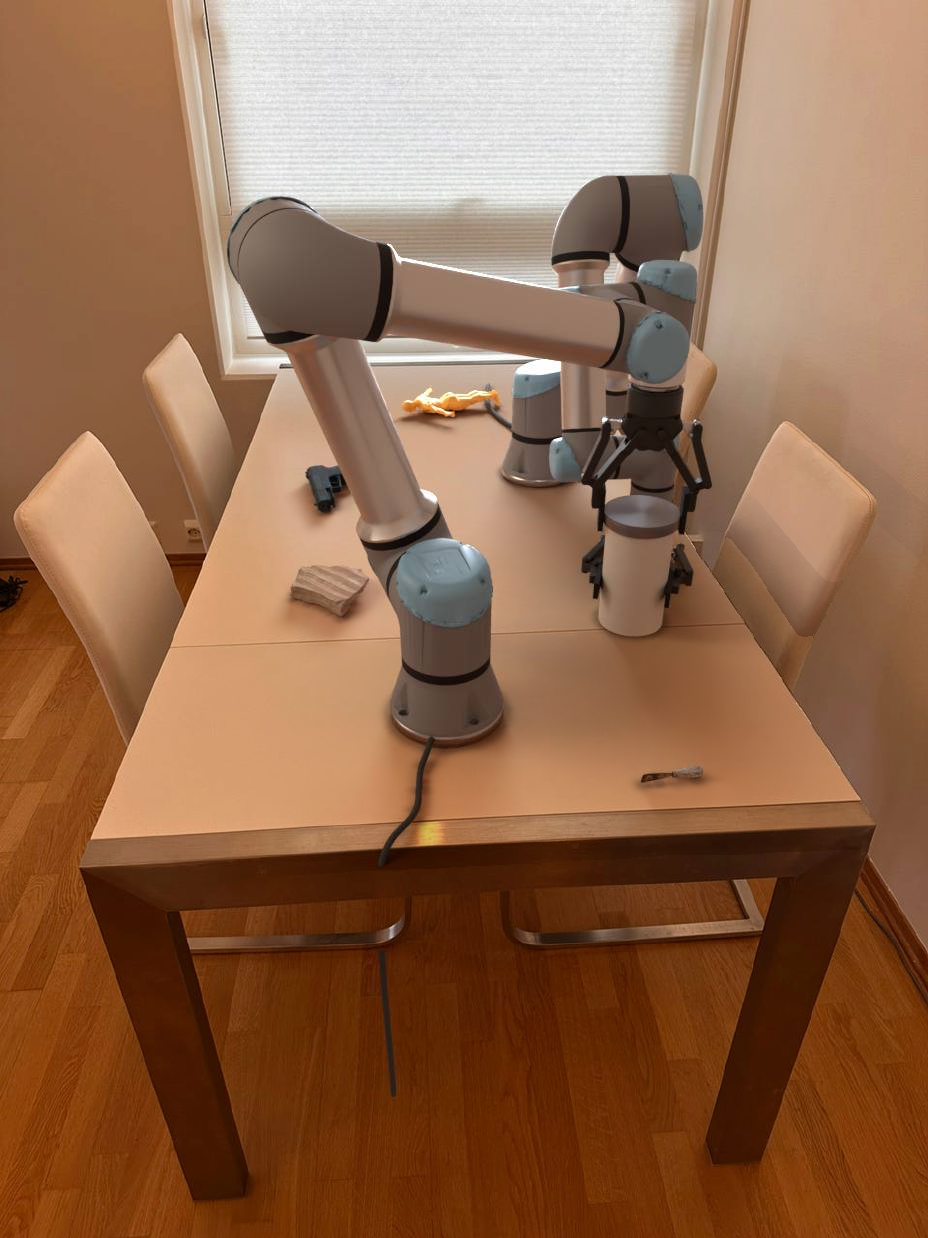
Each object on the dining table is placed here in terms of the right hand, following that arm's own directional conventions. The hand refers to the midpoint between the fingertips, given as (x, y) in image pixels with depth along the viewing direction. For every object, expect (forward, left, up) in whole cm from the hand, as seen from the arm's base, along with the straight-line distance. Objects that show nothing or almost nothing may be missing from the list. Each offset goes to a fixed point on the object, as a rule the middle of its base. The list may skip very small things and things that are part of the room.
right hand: (631, 595), depth 134 cm
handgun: (-61, -41, -7) cm, 74 cm away
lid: (-4, +2, +12) cm, 12 cm away
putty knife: (+33, -6, -7) cm, 34 cm away
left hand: (-4, +2, +9) cm, 10 cm away
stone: (-20, -45, -7) cm, 49 cm away
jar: (-4, +2, -7) cm, 8 cm away
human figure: (-108, -10, -7) cm, 108 cm away
